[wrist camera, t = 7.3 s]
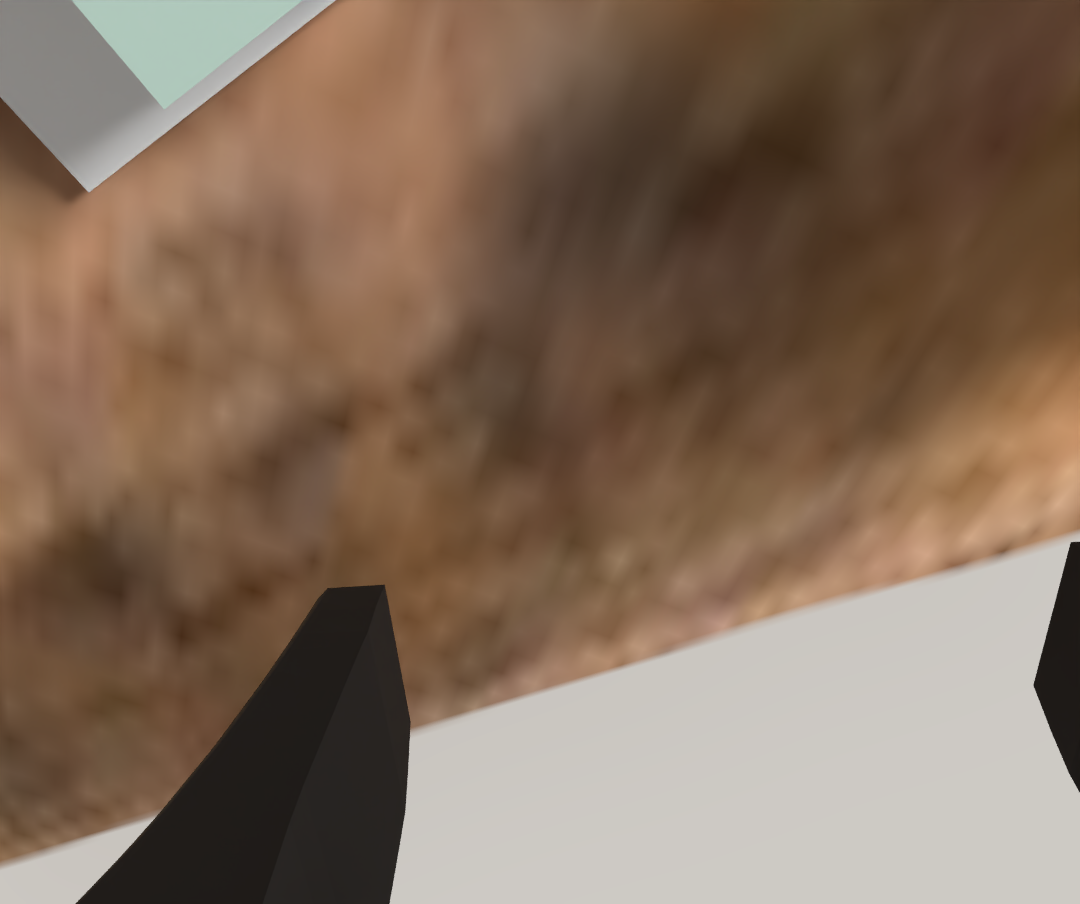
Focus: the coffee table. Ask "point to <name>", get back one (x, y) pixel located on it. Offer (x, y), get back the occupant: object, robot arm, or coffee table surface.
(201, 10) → the pale green block
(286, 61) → the coffee table surface
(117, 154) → the dock
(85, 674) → the coffee table surface
